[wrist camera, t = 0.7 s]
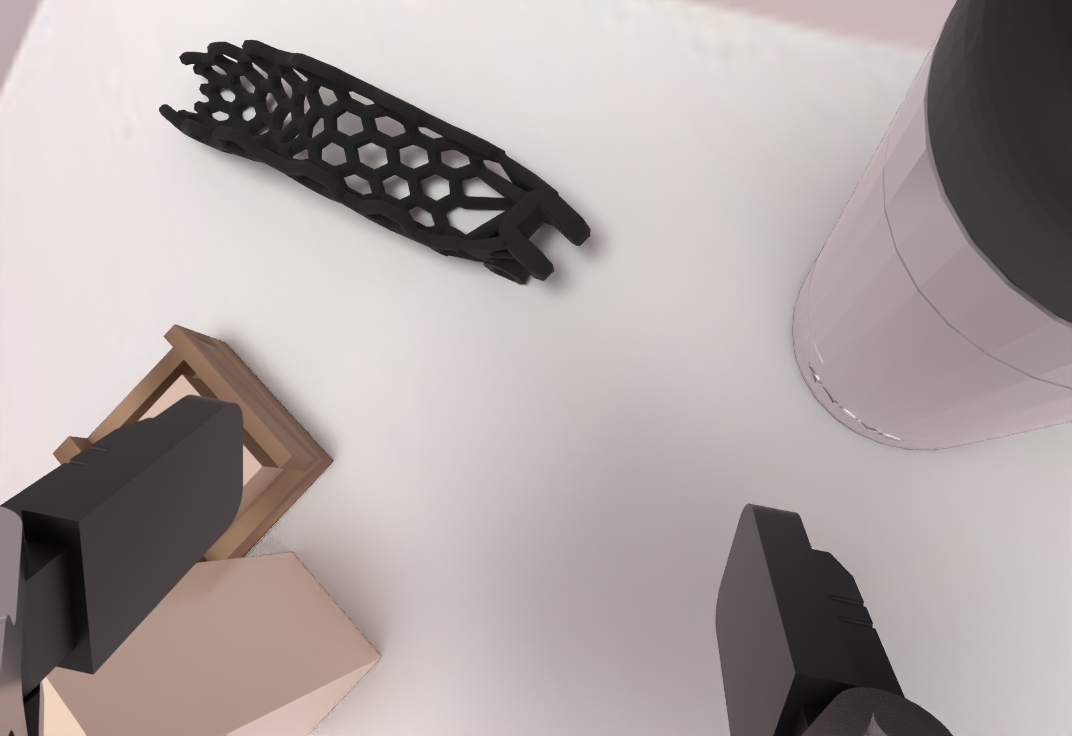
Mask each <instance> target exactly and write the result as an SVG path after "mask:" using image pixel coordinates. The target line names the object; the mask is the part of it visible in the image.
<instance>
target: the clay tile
mask: <svg viewBox="0 0 1072 736" xmlns="http://www.w3.org/2000/svg"><path fill="white" fill-rule="evenodd" d="M190 394H191V395H197V396H203V397H208V398H213V399H218V397H217V396H216V395H215V394H214V393H213V392H212V391H211V390H210V388H209V387H208V386H207V385H206V384H205V383H204V382H203V380H201V379H197V378H194V377H190V376H186V375H181V376H180V377H179V378H178V379H177V380H176V381H175V382H174V383H173V384H172V385H171V387H170V388H169V389H168V390H167V391H166V392H165V393H164V394H163V395H162V396H161V397H160V398H159V399H158V400H157V401H156V402H155V403H154V405H153V406H152V407H151V408H150V409H149V410H148V411H147V412H146V413H145V414H144V415H143V416H142V417H141V418H140V419H139V420H138V421H140V420H143V419H146V418H149V417H150V418H154V417H155V416H157V415H158V414H160V413H161V412H163V411H164V410H166V409H167V408H168V407H170V406H171V405H173V404H174V403H176V402H177V401H179V400H180V399H181V398H183V397H185V396H186V395H190ZM218 400H219V399H218ZM283 470H284V469H280V468H279V467H278V466H277V464H276V463H275V462H274V461H273V460H272V459H271V458H270V456H269V455H268V454H267V453H266V452H265V451H264V450H263V449H262V447H261V446H260V445H259V444H258V443H257V442H256V441H255V439H254V438H253V437H252V436H251V435H250V434H249V433H248V431H247V430H246V429H245V428H244V427H243V494H242V500H241V504H240V507H239V510H238V513H237V515H236V517H235V519H234V521H233V522H232V524H233V523H234V522H235V521H236V520H237V519H238V518H239V517H240V516H241V515H242V514H243V512H244V511H245V510H246V509H247V508H248V507H249V506H250V505H251V504H252V503H253V502H254V501H255V500H256V499H257V498H258V497H259V496H260V494H261V493H262V492H263V491H264V490H265V489H266V488H267V487H268V486H269V485H270V484H271V483H272V482H273V481H274V480H275V479H276V478H277V476H278V475H279V474H280V473H281V472H282V471H283ZM232 524H231V525H232ZM225 532H226V531H225ZM225 532H224V533H225Z"/></svg>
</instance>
